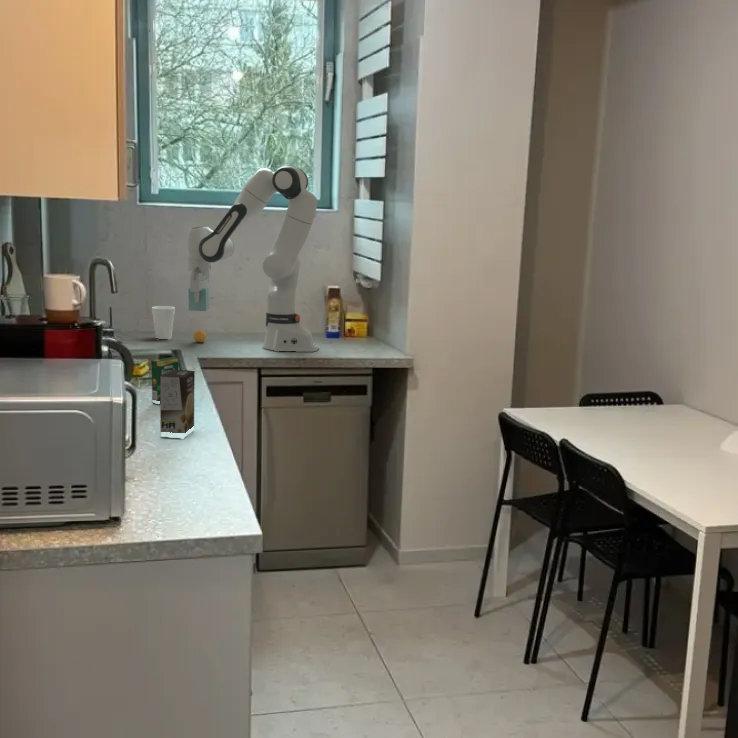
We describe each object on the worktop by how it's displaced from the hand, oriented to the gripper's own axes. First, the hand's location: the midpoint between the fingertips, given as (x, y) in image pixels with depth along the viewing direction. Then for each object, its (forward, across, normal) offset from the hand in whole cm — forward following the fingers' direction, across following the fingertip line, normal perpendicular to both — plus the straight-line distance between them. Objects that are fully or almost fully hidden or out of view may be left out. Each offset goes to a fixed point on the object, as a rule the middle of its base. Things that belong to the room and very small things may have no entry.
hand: (199, 300), depth 365 cm
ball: (+15, 0, 0) cm, 15 cm away
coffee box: (+18, -141, -22) cm, 144 cm away
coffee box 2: (+17, -107, -11) cm, 109 cm away
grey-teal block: (+4, 0, 0) cm, 4 cm away
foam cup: (+17, +6, +16) cm, 24 cm away
